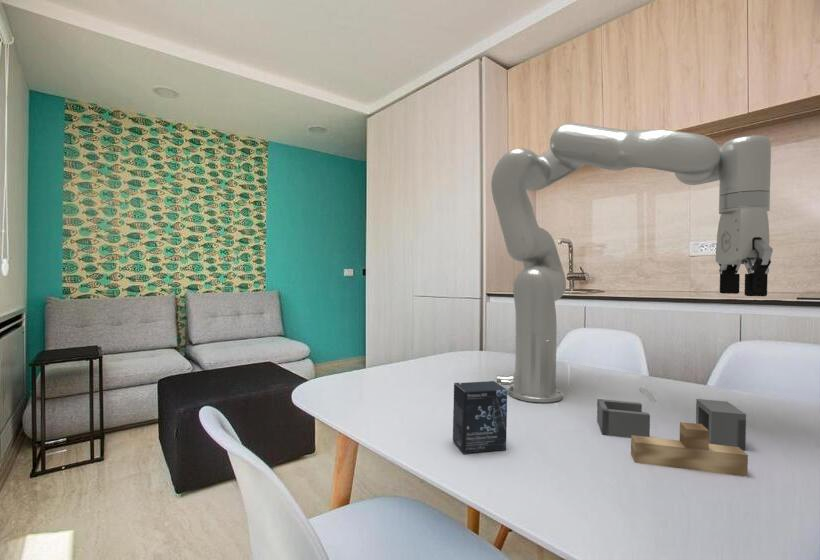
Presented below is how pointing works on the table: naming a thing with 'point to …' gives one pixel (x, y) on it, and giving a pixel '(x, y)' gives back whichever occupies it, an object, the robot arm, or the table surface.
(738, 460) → the slat
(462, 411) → the box
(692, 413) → the table surface
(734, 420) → the channel bracket
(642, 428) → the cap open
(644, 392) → the butter knife
